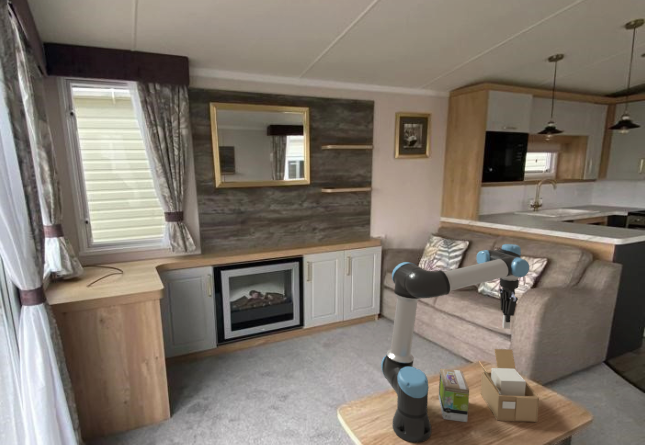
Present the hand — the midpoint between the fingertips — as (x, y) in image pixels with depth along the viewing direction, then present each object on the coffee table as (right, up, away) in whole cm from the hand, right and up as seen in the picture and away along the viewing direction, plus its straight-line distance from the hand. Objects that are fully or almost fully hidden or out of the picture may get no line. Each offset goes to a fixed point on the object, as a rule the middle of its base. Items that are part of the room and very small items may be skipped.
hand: (506, 327), depth 158 cm
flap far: (0, -16, +1) cm, 16 cm away
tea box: (-28, -33, -8) cm, 44 cm away
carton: (-3, -33, -7) cm, 34 cm away
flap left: (-13, -17, -11) cm, 24 cm away
